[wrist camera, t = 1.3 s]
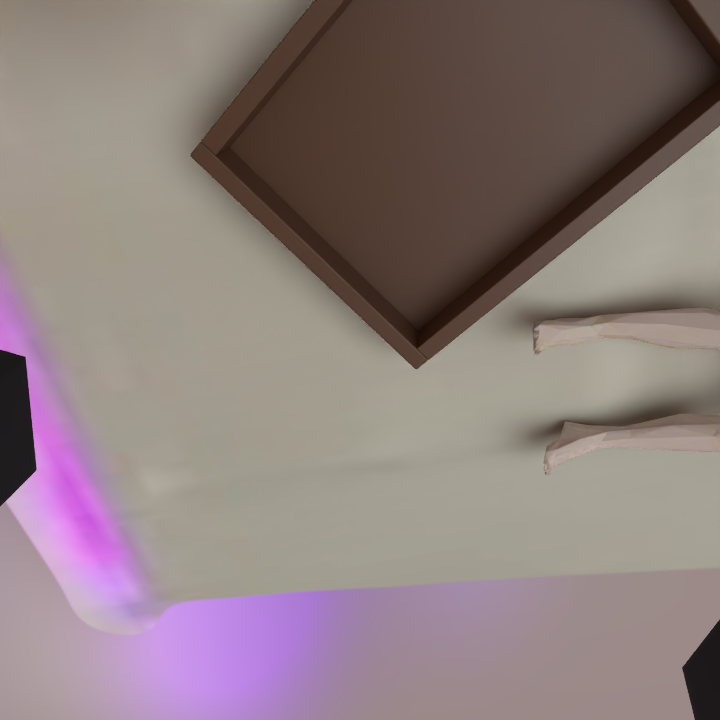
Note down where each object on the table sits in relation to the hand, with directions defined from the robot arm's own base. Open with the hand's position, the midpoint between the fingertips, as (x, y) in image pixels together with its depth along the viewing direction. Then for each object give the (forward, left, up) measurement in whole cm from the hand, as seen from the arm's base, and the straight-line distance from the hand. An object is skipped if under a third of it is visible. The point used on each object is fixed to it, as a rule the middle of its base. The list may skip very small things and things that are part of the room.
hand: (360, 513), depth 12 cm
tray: (-4, -2, -20) cm, 21 cm away
